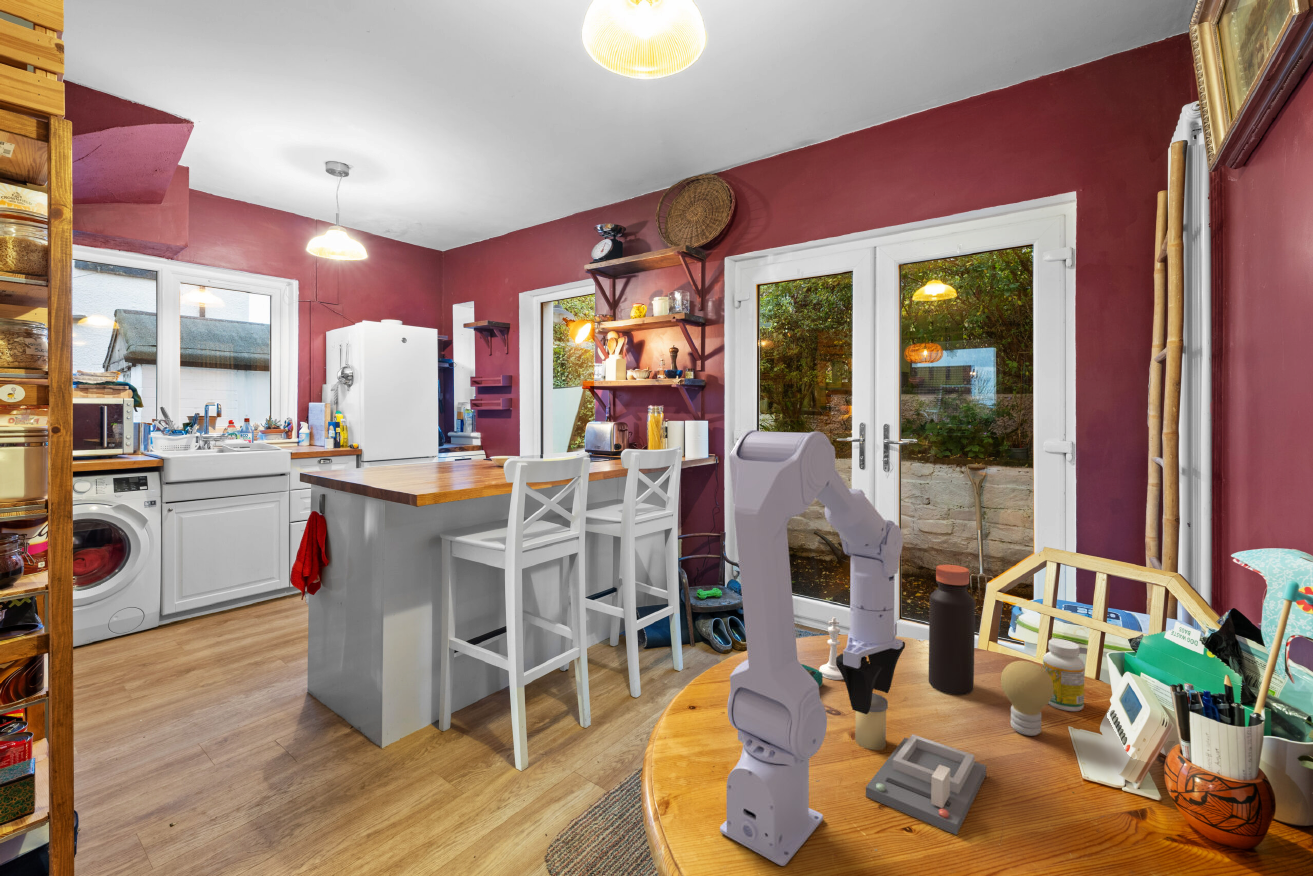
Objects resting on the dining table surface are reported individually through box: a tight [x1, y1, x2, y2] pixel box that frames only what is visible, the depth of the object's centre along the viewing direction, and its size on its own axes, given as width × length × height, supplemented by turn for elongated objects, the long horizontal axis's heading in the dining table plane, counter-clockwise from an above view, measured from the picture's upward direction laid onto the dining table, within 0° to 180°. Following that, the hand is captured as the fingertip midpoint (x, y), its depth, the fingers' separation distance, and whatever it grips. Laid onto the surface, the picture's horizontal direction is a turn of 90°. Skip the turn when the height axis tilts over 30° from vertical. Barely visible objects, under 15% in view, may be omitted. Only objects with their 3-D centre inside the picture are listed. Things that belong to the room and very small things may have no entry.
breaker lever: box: [931, 765, 950, 808], centre depth 68 cm, size 3×1×3 cm, turn 139°
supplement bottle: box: [1042, 638, 1086, 712], centre depth 93 cm, size 5×5×10 cm
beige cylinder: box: [854, 692, 889, 751], centre depth 82 cm, size 4×4×6 cm
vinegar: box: [928, 564, 976, 696], centre depth 98 cm, size 7×7×20 cm
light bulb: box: [1000, 660, 1053, 737], centre depth 85 cm, size 6×6×10 cm
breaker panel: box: [865, 733, 987, 836], centre depth 73 cm, size 14×10×2 cm
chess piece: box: [818, 616, 844, 681], centre depth 104 cm, size 5×5×10 cm
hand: (871, 700), depth 82 cm, fingers open, 7 cm apart
